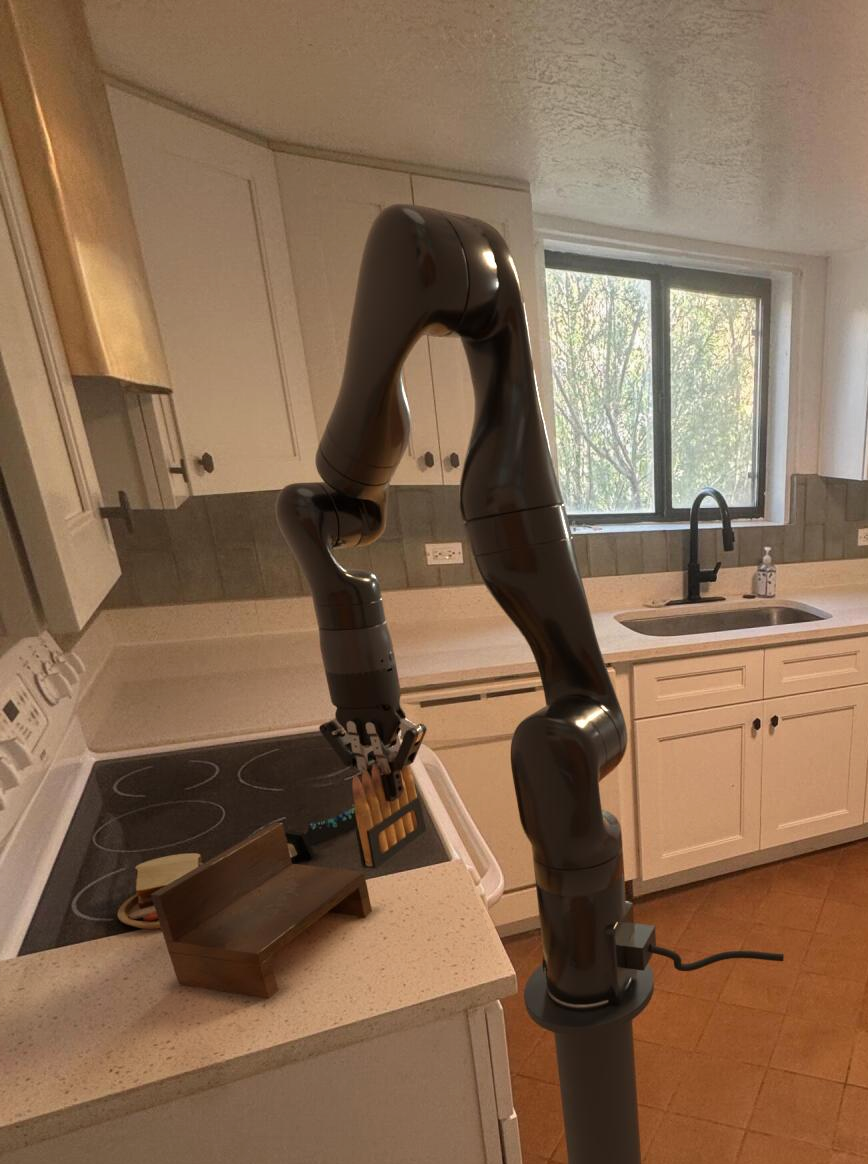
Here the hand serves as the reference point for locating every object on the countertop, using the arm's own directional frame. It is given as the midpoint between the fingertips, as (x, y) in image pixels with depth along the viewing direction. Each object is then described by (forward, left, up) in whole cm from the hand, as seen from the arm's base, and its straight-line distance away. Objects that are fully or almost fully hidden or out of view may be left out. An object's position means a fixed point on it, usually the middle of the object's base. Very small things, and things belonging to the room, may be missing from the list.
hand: (386, 797), depth 97 cm
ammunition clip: (0, 0, -7) cm, 7 cm away
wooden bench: (+11, +9, -17) cm, 22 cm away
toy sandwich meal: (+32, +4, -17) cm, 37 cm away
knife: (+24, -14, -17) cm, 33 cm away
